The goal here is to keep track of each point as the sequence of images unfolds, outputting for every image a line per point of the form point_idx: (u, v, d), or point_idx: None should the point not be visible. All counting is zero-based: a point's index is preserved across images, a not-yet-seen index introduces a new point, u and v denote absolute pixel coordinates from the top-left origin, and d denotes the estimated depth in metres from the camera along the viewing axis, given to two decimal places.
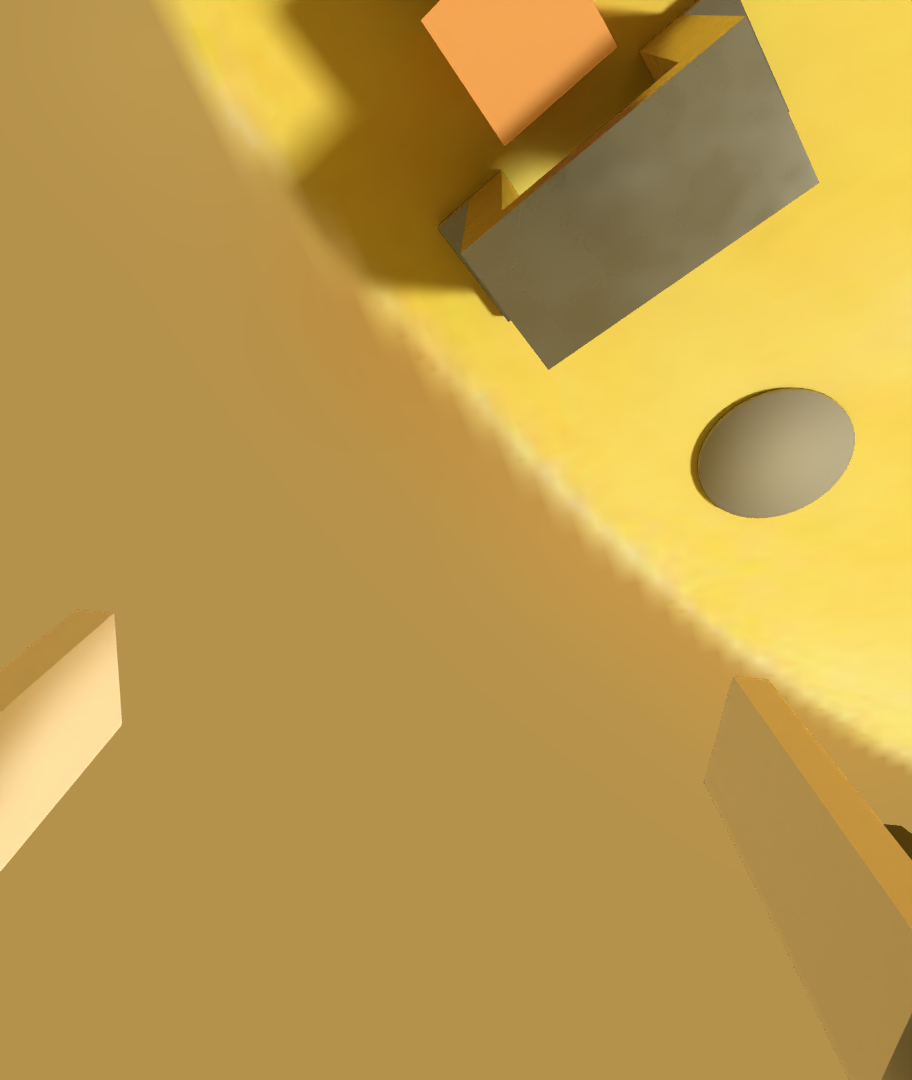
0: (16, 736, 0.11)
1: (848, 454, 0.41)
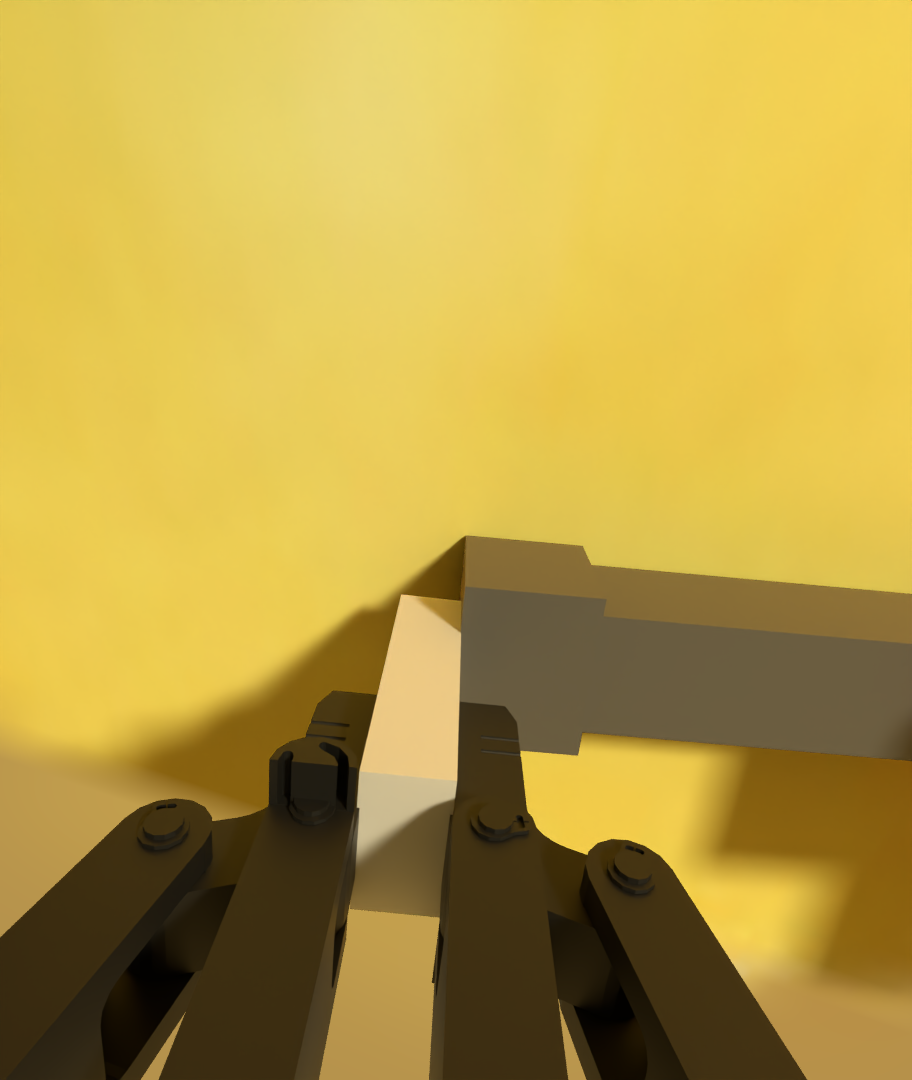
0: None
1: None
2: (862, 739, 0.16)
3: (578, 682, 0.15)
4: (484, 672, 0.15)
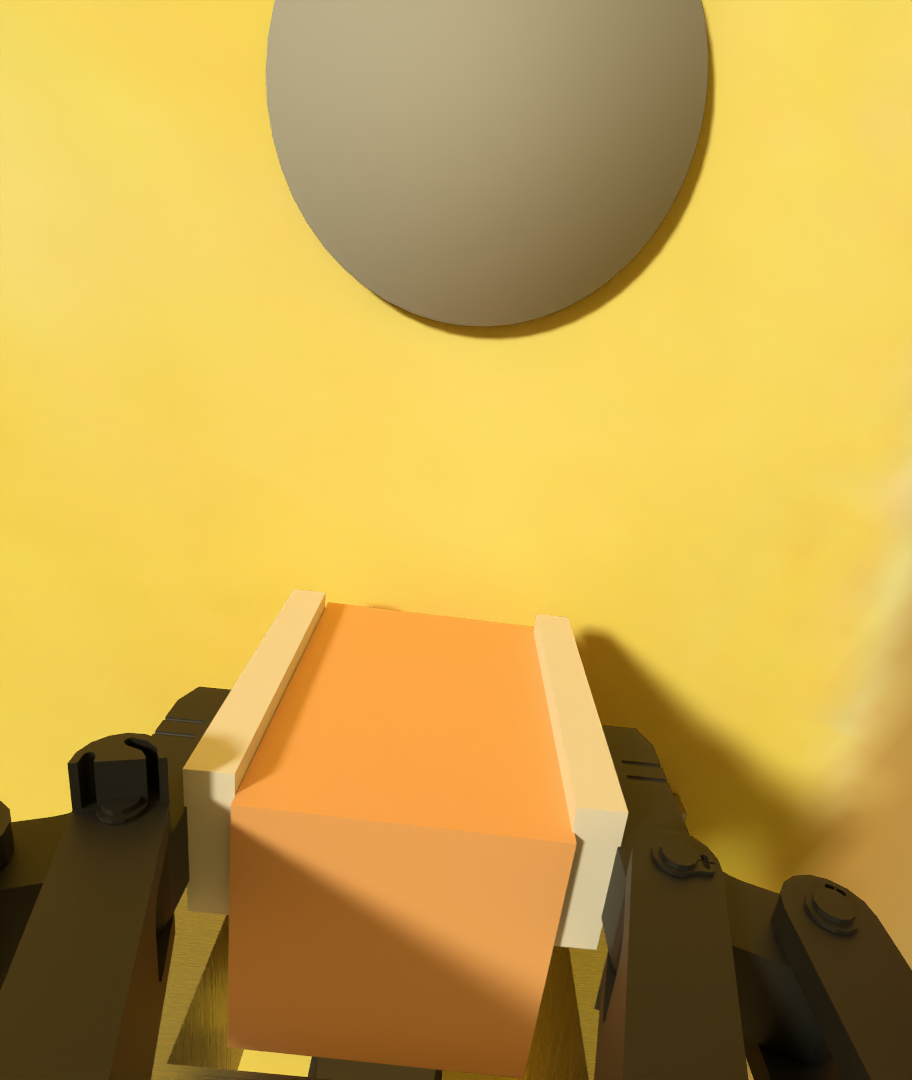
0: None
1: None
2: None
3: None
4: None
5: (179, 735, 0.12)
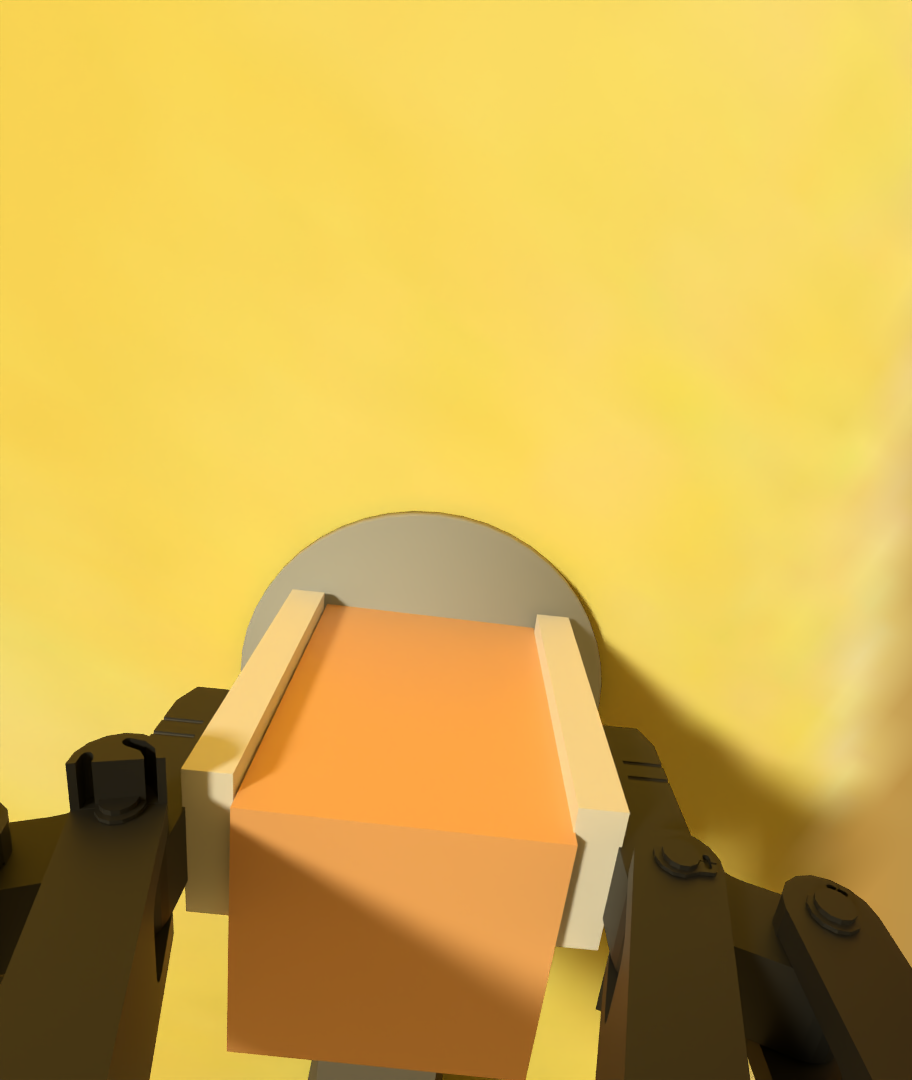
0: None
1: (279, 588, 0.16)
2: None
3: None
4: None
5: (178, 735, 0.12)
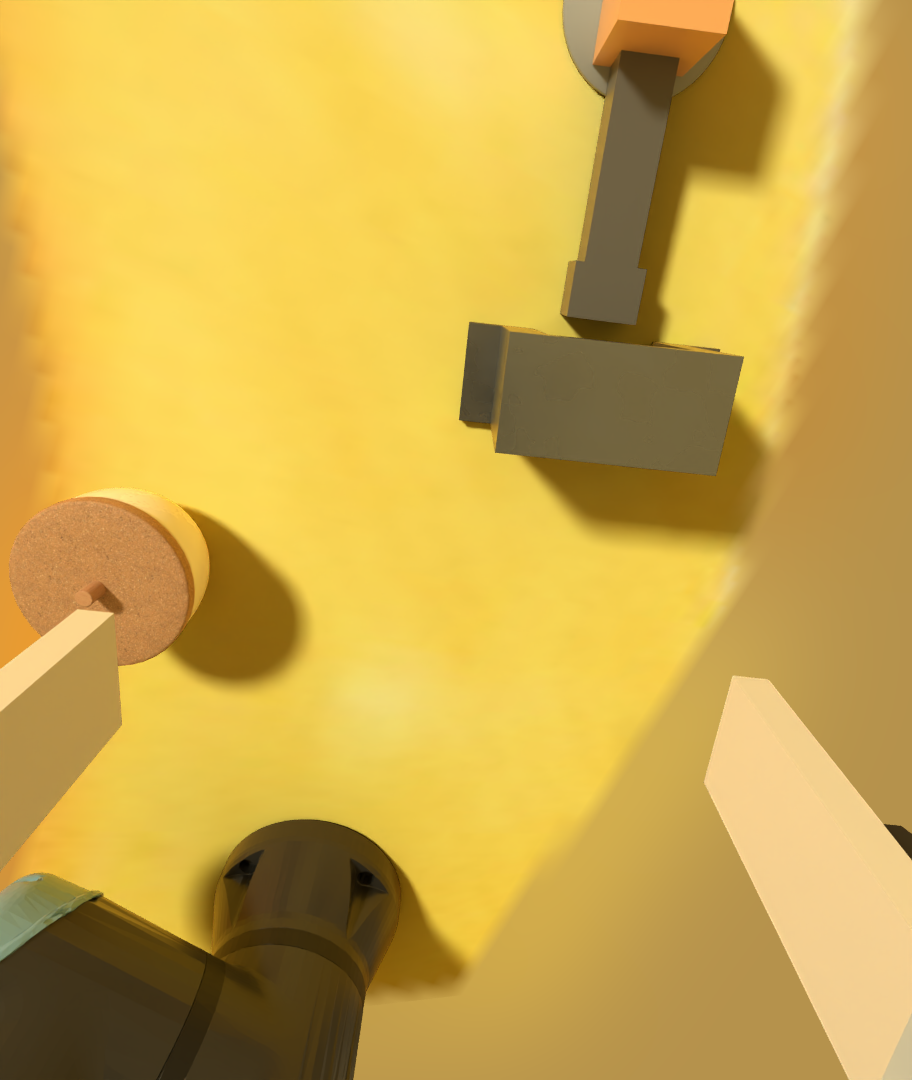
0: (16, 736, 0.11)
1: None
2: (655, 135, 0.36)
3: (612, 270, 0.38)
4: (603, 309, 0.39)
5: None
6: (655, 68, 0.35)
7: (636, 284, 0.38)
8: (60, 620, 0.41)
